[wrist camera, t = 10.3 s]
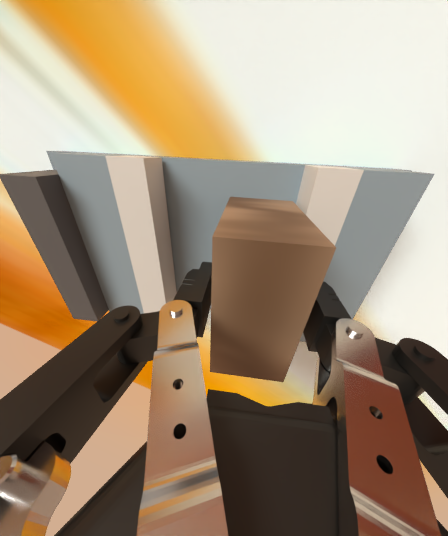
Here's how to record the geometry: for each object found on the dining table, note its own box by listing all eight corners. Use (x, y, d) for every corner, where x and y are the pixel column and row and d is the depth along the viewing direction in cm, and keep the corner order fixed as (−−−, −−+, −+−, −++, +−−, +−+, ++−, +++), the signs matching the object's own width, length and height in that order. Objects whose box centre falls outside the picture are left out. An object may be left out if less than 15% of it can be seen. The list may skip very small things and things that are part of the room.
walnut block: (224, 292, 16) (210, 371, 10) (230, 196, 12) (212, 236, 6) (270, 297, 16) (283, 382, 10) (292, 201, 12) (336, 247, 6)
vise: (111, 286, 20) (82, 314, 16) (65, 151, 13) (3, 150, 10) (329, 310, 18) (348, 346, 15) (394, 169, 12) (454, 175, 8)
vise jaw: (107, 298, 18) (78, 327, 15) (53, 151, 12) (-15, 150, 9) (178, 306, 18) (163, 338, 15) (161, 157, 11) (129, 158, 8)
